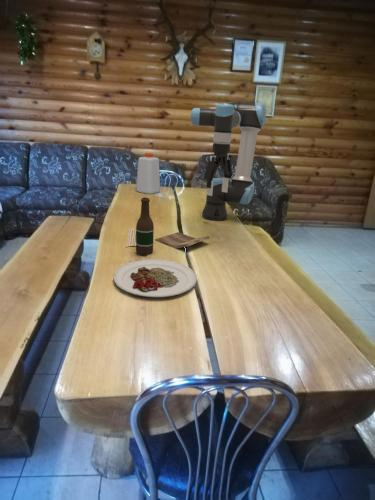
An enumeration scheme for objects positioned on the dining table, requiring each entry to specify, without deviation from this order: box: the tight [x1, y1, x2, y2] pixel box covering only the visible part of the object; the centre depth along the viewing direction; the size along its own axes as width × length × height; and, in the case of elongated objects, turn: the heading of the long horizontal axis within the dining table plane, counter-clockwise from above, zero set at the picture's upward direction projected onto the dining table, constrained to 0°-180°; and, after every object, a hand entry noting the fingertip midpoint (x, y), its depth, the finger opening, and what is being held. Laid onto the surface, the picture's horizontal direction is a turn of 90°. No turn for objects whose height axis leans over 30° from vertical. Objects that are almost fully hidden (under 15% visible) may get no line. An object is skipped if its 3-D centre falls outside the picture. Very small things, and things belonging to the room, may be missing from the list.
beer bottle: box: [135, 197, 155, 257], centre depth 144 cm, size 8×8×24 cm
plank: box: [173, 235, 210, 249], centre depth 157 cm, size 16×8×1 cm, turn 139°
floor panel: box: [154, 231, 197, 249], centre depth 164 cm, size 16×12×1 cm
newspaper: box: [125, 228, 136, 249], centre depth 164 cm, size 24×7×2 cm, turn 6°
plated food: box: [112, 258, 197, 298], centre depth 125 cm, size 30×30×3 cm
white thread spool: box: [135, 152, 161, 195], centre depth 254 cm, size 15×15×28 cm
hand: (217, 193), depth 156 cm, fingers open, 11 cm apart
